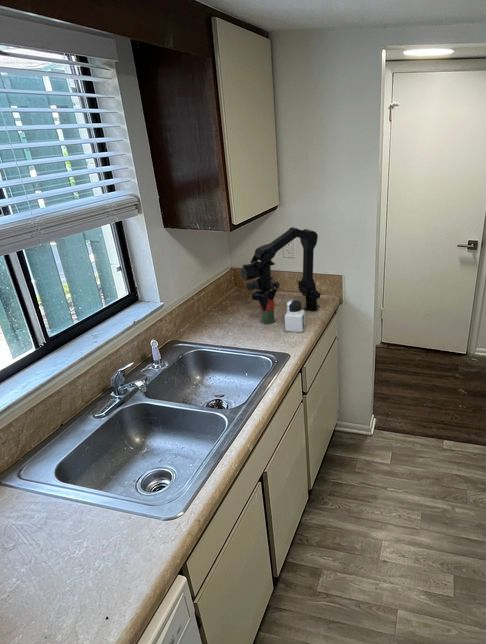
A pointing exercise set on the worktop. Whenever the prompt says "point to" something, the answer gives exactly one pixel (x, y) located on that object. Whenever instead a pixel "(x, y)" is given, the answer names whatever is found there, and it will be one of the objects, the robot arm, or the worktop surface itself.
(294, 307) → the container
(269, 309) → the jar lid
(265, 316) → the jam jar
